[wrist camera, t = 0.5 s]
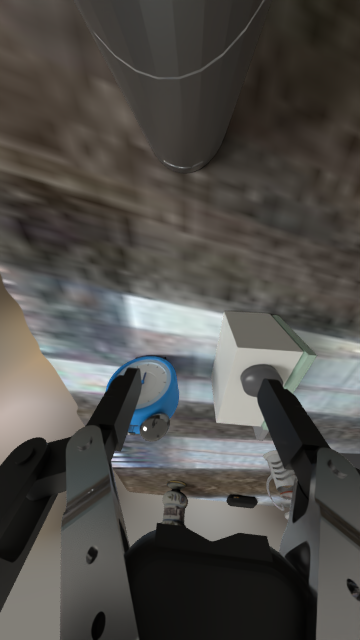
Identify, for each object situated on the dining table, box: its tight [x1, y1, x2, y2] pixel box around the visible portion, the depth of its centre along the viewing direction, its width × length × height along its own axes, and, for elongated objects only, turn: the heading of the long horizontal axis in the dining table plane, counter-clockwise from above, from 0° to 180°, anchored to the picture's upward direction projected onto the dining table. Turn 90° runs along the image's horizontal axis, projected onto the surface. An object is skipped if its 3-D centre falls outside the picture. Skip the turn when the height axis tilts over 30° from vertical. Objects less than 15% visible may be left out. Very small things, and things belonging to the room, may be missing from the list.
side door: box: [253, 315, 317, 441], centre depth 29 cm, size 22×1×10 cm, turn 178°
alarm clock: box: [106, 356, 179, 441], centre depth 30 cm, size 13×6×15 cm, turn 95°
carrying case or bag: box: [227, 495, 258, 508], centre depth 82 cm, size 11×3×15 cm
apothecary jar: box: [162, 481, 188, 527], centre depth 71 cm, size 12×12×18 cm
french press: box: [264, 450, 296, 520], centre depth 45 cm, size 10×12×25 cm
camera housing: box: [211, 311, 303, 427], centre depth 28 cm, size 18×8×12 cm, turn 178°
